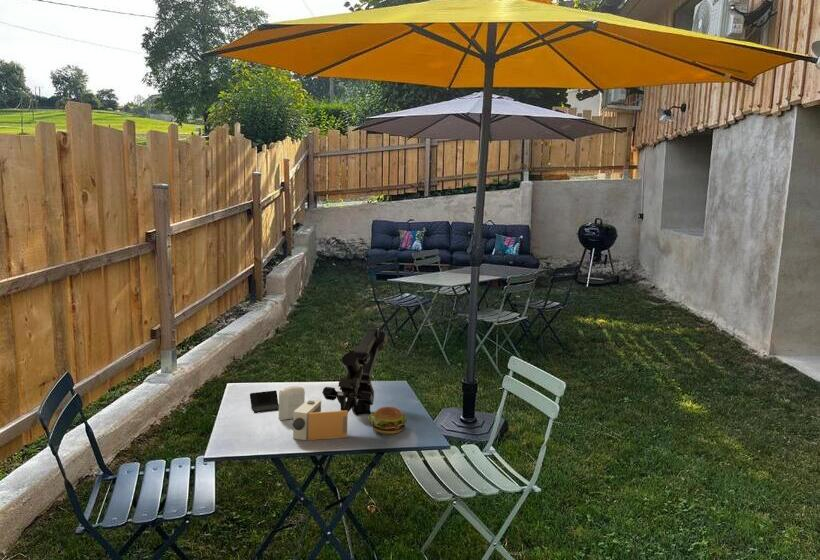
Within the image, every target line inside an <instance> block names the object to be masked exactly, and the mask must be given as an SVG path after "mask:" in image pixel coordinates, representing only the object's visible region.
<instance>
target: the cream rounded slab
mask: <svg viewBox="0 0 820 560" xmlns="http://www.w3.org/2000/svg"><path fill="white" fill-rule="evenodd" d="M305 393H306V392H305V388H304V387H303V386H299V385H293V386H288V387H283V388H281V389H280V390H279V391H278V404H279V410H278V419H279V420H280V421H282V420H284V421H285V420H289V419H290V420H291V419H293V415H294V411H295V410H296V409H297V408H298V407H300V406H301V405H302V404H303V403H305V402H306V401H305V399H306V397H305V396H306V395H305Z"/></svg>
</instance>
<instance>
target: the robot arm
mask: <svg viewBox="0 0 820 560" xmlns="http://www.w3.org/2000/svg"><path fill="white" fill-rule="evenodd" d="M388 339H389V338H388V335H387V333H386V332H385V331H381V330H380V329H378V328H373V327H372V328H371V327H369V328H366V329H365V334H364V336H363V337H362V339H361V341H360V342H359V344H358V345H356V346H354V347H352V349H350V350H349V351H348V352H347V353H345V354H344V355H343V356H342V357H341V363H342V365H343V367H344V369H345V371H346V375H345V376H344V378H343V377H339V378H338V379H339V381H338V386H337V387H338V388H339V390H336V388H335V387H332V386H331V387H330V386H325V387H324V388H323V389H322V393H321V394H322V395H323V397H324V399H325V400H327V401H328V400H329V401H335V400H336V399H337V401H338V403H339V404H340V411H346V410H347V411H348V413H349V412H350V411H352V412H353V413H354V414H355V415H356V416H361V415H362V416H363V415H371V414H372V412H373V411H372V410H371V406H373V404H374V402H375V401H374V400H375V390H374V388H373V384H372V380H371V377H372V375H373V372H374V367H375V365H376V362H377V358H378V356H379V352H381V351H382V350H383V349H385V346H386V344H387V343H388Z"/></svg>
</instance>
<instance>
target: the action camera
mask: <svg viewBox="0 0 820 560" xmlns="http://www.w3.org/2000/svg"><path fill="white" fill-rule="evenodd" d="M315 412H322V400H319V399H312V398H308V399H306V401H304V403H303V404H302V405H301V406H300V407H298V408H297V409H296V410H295V411H294V415H293V418H292V419H293V420H292V426H293V428H292V431H293V432H292V438H293V439H297V440H303V441H308V440H307V413H315Z"/></svg>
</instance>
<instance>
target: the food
mask: <svg viewBox="0 0 820 560" xmlns="http://www.w3.org/2000/svg"><path fill="white" fill-rule="evenodd" d="M371 412H372V413H371V414H369V415H368V417H367V419H368V420H369V421H371V422H370V423H371V425H372V429H373V431H375V432H377V433H379V434H384V435H393V434H398V433H400V431H401V432H402V431H403V430H404V428H405V426H406V422H407V418H406V416H405V414H404V413H403V411H401V410H400V409H399V408H396V407H394V406H393V407H392V406H383V407H379V408H377V409H376V410H375V411H371Z"/></svg>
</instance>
